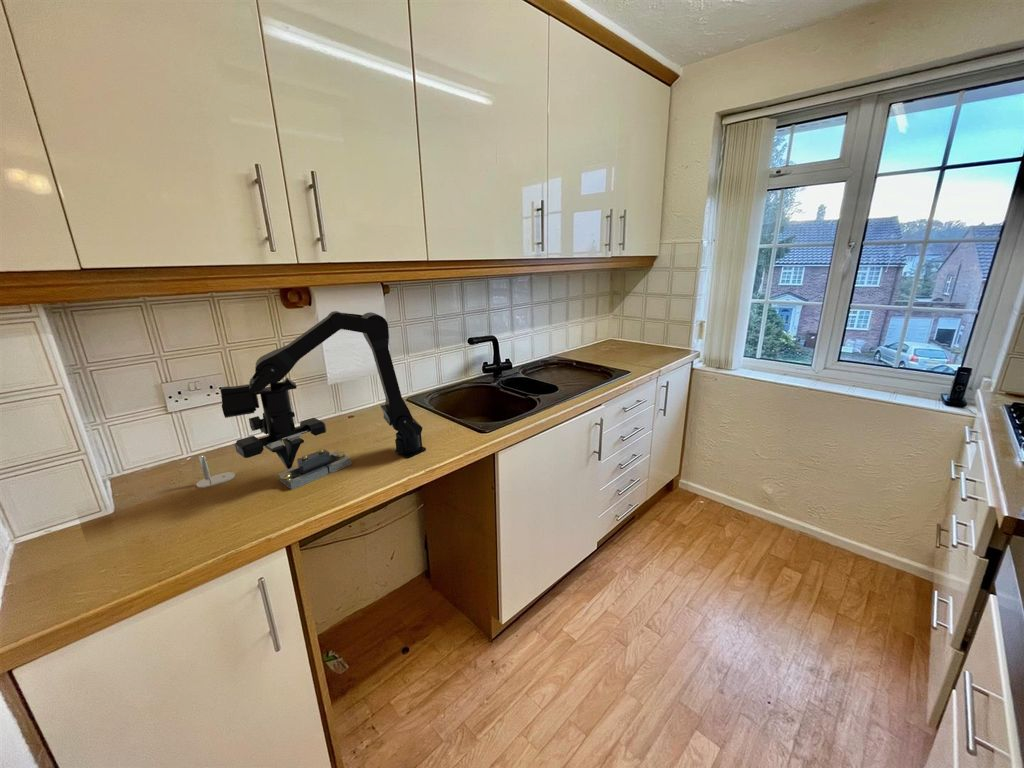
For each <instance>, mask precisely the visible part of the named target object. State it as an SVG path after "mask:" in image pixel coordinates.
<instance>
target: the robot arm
mask: <svg viewBox="0 0 1024 768" xmlns="http://www.w3.org/2000/svg"><path fill="white" fill-rule="evenodd" d="M340 330H344V331H350V332H357V333H361V334H362V335H363V337H364V339H365V340H366V342H367V344H368V346H369V348H370V350H371V352H372V355H373V359H374V362H375V367H376V370H377V373H378V376H379V379H380V383H381V386H382V390H383V392H384V393H383V395H384V396H385V403H384V404H382V405H381V404H380V409H381V410H382V412H383V416H382V417H383V419H384V420H385V422H386V423H387V424H388V425H389V426H391V427H392V428H393V430H395V431H396V433H395V440H394V441H395V449H394V453H396V454H398V455H400V456H403V457H405V458H406V459H408V458H409V459H410V458H411V457H414V456H416V455H418V454H421V453H422V452H424V451H427V448H426V447H425V446H423V439H422V431H423V426H422V425H421V424H420V423H419V422H418V421H417V420H416V419H415V418H414V417H413V414H412V413H411V411H410V408H409V407H408V405H407V404H406V402H405V400H404V398H403V396H402V394H401V390H400V386H399V382H398V378H397V375H396V371H395V368H394V365H393V364H394V363H393V360H392V357H391V353H390V350H389V349H390V348H389V345H390V344H389V343H390V332H389V324H388V322H387V320H386V318H384V317H383V316H382V315H379V314H378V313H375V312H366V313H363V314H357V313H348V312H347V313H346V312H340V311H337V310H334V311H330V313H328V315H326V317H324V318H323V319H322V320H320V321H319V322H317V323H315V325H313V326H312V327H310V328H309V329H307V331H305V332H304V333H302V334H300V335H299V336H298V337H297V338H294V340H292V341H290V342H289V343H288V344H287V345H284V346H281V347H279V348H276V349H274V350H272V351H270V352H268V353H265V354H264V355H262V356H260V357H259V358H257V360H256V362H255V368H254V369H255V373H254V374H253V375H252V377H251V378H250V379H249V383H248V384H242V385H235V386H228V385H227V386H222V387H221V388H220V391H219V392H220V394H221V395H220V396H221V409H222V413H223V416H224V418H225V419H227V418H233V417H239V416H240V417H241V416H245V415H251V414H255V412H256V411H257V409H260V403H259V398H258V395H260V399H261V404H262V410H263V413H262V418H260V416H259V415H257V416H254V417H249V418H248V421H249V422H248V423H249V426H250V430H251V431H253V432H255V431H257V430H260V432H261V433H263V434H265V435H268V436H264V437H261V438H258V437H257V436H255V435H251V436H248V437H244V438H241V439H237V440H236V442H235V443H234V449H235V452H236V453H237V454H239V455H240V456H242V458H244V459H248V458H252V457H255V456H258V455H260V454H262V453H263V451H264V449H265V448H266V449H267V450H269V452H272V453H276V455H277V456H278V458H279V459H280V460H281V462H282V463H283V465H284V466H285V468H286V469H287V470H289V469H291V468H293V465H294V461H295V458H296V455H297V453H298V450H300V447H301V444H304V443H305V440H304V439H303V438H302V435H303V434H307V433H310V434H311V435H314V436H315V437H316V436H319V435H322V434H325V433H327V428H326V427H327V425H326V423H325V422H324V421H322V420H319V419H318V418H316V417H312V418H307V419H304V420H301V421H300V423H299V426H298V427H296V426H295V421H294V417H296V415H295V412H294V411H293V410H292V409H293V408H292V403H291V398H290V392H289V390H296V389H297V383H296V382H294V381H292V380H291V379H289V377H286V376H287V375H288V374H289V373H290V371H292V369H293V368H294V366H296V365H297V363H298V362H299V361H300V359H302V358H303V357H304V356H306V355H307V354H309V353H310V352H311V351H313V350H314V349H316V348H317V347H318V346H320V345H321V344H323V343H324V342H325V341H327V340H328V339H329V338H331V337H332V336H333V335H334V334H336V333H337V332H339V331H340ZM284 378H285V379H284ZM283 379H284V380H283ZM282 380H283V381H282Z"/></svg>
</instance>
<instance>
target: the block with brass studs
mask: <svg viewBox="0 0 1024 768" xmlns="http://www.w3.org/2000/svg"><path fill="white" fill-rule="evenodd" d="M329 454H330V451H328V450H327V449H323V448H320V449H318V450H317V451H315V452H312V453H310V454H307V455H306V454H304V455H301V456H300V457H298V458H297V459H296V461H297V466H298V467H299V472H300V475H299V476H302V475H304V474H306V473H309V472H311V471H314V470H316V469H319V468H321V467H324V466H326V467H327V465H329V464H331V463H332V462H331V460H330V455H329Z"/></svg>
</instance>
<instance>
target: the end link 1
mask: <svg viewBox="0 0 1024 768" xmlns="http://www.w3.org/2000/svg"><path fill="white" fill-rule="evenodd" d="M277 475H278V476H277V477H278V480H279V481H280V482H281V483H282V484H283V485H284V486H286V487H287V488H289V489H290V490H295V489H297V488H300V487H303V486H304V485H306V484H308V483H311V482H314V481H316V480H319V479H321V478H323V477H325V476H328V475H329V473H328V468H327V467H326V466H324V467H321V468H319V469H316V470H314V471H311V472H309V473H306V474H304V475H302V476H300V472H299V467H298V465H297V466H294V467H292V468H290V469H287V470H284V471H281V472H278V474H277Z"/></svg>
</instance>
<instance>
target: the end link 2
mask: <svg viewBox="0 0 1024 768" xmlns="http://www.w3.org/2000/svg"><path fill="white" fill-rule="evenodd" d="M329 455H330V460H331V464H329V465H327V468H328V474H333V473H335V472H337V471H340V470H342V469H344V468H347V467H349V466H351V465H352V459H351V457H349V456H348V455H346V453H345V451H339V450H336V451H333V452H331V453H330V452H329Z"/></svg>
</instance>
